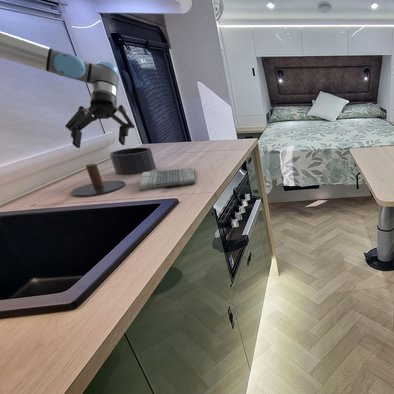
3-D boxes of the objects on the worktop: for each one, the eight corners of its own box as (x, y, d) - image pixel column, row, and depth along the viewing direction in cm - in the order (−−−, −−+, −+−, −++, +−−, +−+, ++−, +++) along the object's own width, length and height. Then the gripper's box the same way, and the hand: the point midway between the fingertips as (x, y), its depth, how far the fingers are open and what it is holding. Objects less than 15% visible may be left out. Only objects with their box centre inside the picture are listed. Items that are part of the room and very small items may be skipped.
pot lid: (60, 199, 93) (48, 172, 89) (91, 184, 106) (82, 160, 102) (109, 197, 94) (100, 170, 91) (134, 182, 108) (127, 158, 104)
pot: (108, 176, 114) (101, 155, 111) (128, 167, 127) (122, 148, 123) (145, 175, 116) (139, 154, 113) (161, 165, 128) (156, 146, 125)
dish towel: (197, 184, 105) (195, 176, 104) (138, 193, 97) (135, 184, 96) (196, 171, 120) (194, 163, 119) (145, 177, 113) (143, 169, 111)
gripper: (145, 103, 117) (144, 147, 110) (71, 105, 110) (63, 152, 103) (137, 89, 111) (134, 135, 103) (57, 91, 104) (48, 140, 96)
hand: (99, 144), depth 103 cm, fingers open, 13 cm apart
